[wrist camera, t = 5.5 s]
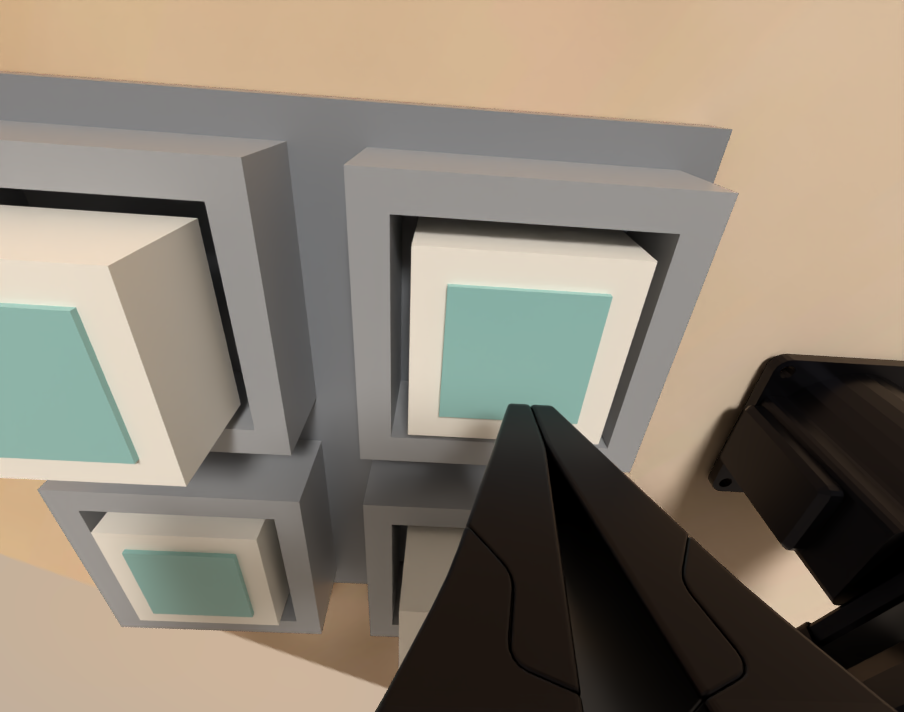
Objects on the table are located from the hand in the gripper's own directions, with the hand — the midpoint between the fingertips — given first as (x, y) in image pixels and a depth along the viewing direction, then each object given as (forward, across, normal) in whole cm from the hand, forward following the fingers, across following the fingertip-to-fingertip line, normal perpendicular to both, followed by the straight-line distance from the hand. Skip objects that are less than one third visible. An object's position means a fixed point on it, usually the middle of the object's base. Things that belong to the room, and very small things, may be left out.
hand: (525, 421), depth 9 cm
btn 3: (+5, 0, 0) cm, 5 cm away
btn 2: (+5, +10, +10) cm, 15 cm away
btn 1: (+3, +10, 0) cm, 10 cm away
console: (+7, +5, +5) cm, 10 cm away
